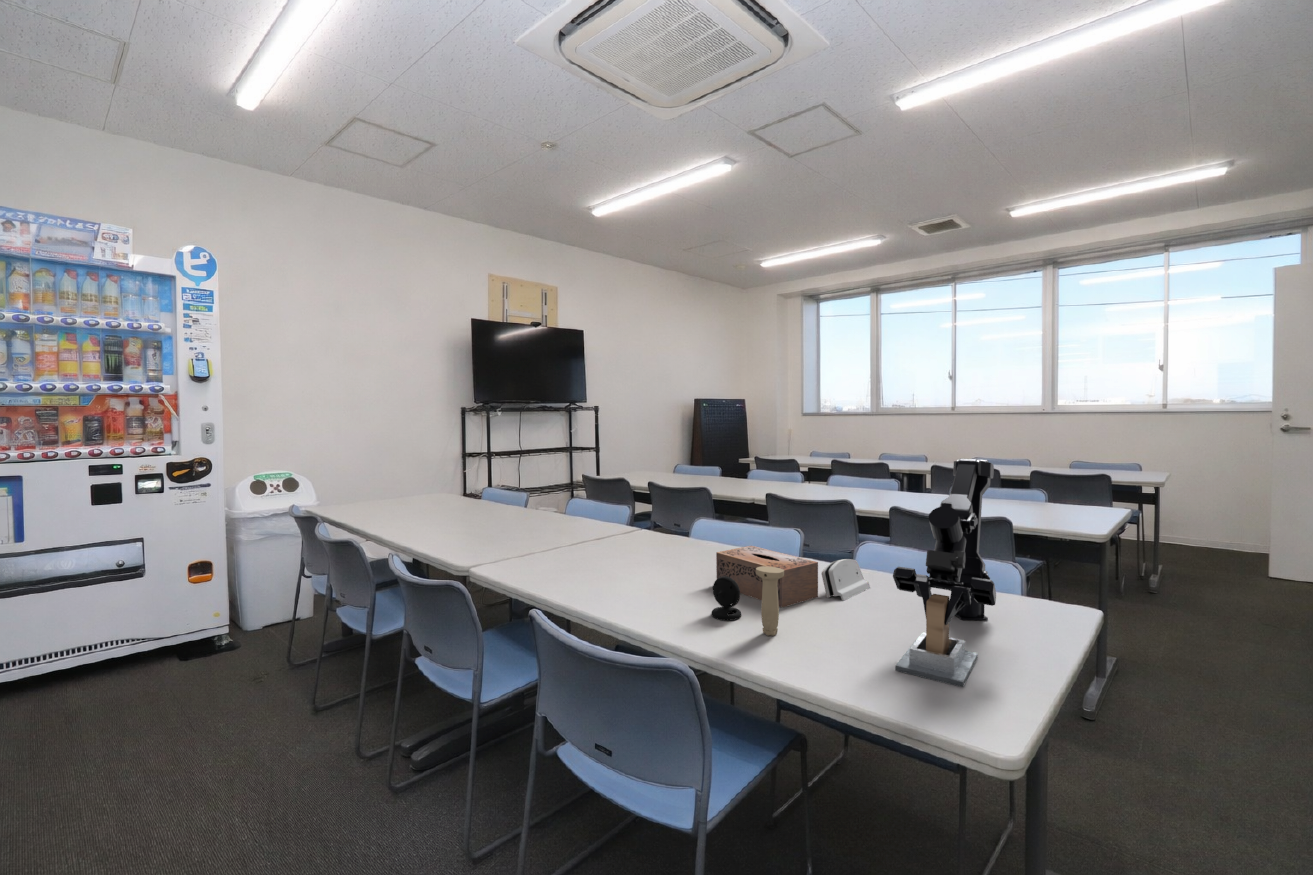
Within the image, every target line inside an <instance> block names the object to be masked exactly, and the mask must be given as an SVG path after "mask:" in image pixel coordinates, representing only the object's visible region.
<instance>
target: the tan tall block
mask: <svg viewBox="0 0 1313 875" xmlns="http://www.w3.org/2000/svg"><path fill="white" fill-rule="evenodd" d="M949 600H950V595H945V594H939V593H932V596H931V597H930V598H929V599H928V600H927V602H926V616H925V620H926V621H925V626H926V627H925V628H926V630H925V631H926V651H931V652H935V653H940V654H944V655H946V653H947V651H948V650H949V637H950V622H949V623H948V624H947V625H945V624H944V620H945V614H946V610H947V607H948V603H949Z"/></svg>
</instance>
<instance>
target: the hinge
mask: <svg viewBox="0 0 1313 875" xmlns="http://www.w3.org/2000/svg"><path fill="white" fill-rule="evenodd" d="M821 577H822V582H823V586H824V591H825V595H826V598H832V597H838V596H839V597H840V598H841V601H842V602H843V601H846V600H848V599H850V598H852V596H853V597H854V595H855V596H857V595H859V594H861V593H863V592H865V591H867V590H870V589H871V585H870V583H869V581H868V580H866V579H865V578H864V576H863V573H862V570H861V567H860V565H859V563H858V561H857V560H855V559H852V558H851V559H850V558H844V559H843V558H842V559H838V560H834V561H832V562H831V563H829V564H826V566H825V567H824V568H823V570H822V571H821ZM866 589H867V590H866ZM864 590H865V591H864Z"/></svg>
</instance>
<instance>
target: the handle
mask: <svg viewBox="0 0 1313 875" xmlns="http://www.w3.org/2000/svg"><path fill="white" fill-rule="evenodd" d="M756 574H757V575H758V576H759V577H761V578H762V581H763V588H762V600H761V605H760V606H761V607H760V608H761V612H760V613H761V614H760V615H761V623H762V624H761V625H762V633H763V634H765V635H766V636H767V637H769V636H772V637H773V636H776V635H777V634H778V630H779V629H778V627H779V618H780V617H779V616H780V615H779V614H780V613H779V612H780V610H779V609H780V607H779V604H778V587H777V582H778V579H780V578H782V577H783V576H784V570H783V569H780V568H776V567H767V566H761V567H757V568H756Z"/></svg>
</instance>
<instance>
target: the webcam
mask: <svg viewBox="0 0 1313 875" xmlns="http://www.w3.org/2000/svg"><path fill="white" fill-rule="evenodd" d="M712 594H713V597H714V599H715V601H716V602H717V603H718V605H720V606H718V607H714V608H713V609H712V610H711V616H712V618H714V619H716V620H720V621H727V622H728V621H735V620H739V619H740V618H741V617H742V612H741V610H740V609H738V608H736V607H734V606H736V605H737V604H738V603H739V601H740V599H741V593H740V589H739V586H738V584H737V583H736V582H735V580H733V579H732V578H730V577H727V576H723V577H719V578H718V579H717V578H716V579H715V581H714V582H713V585H712ZM729 613H731V614H729Z"/></svg>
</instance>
